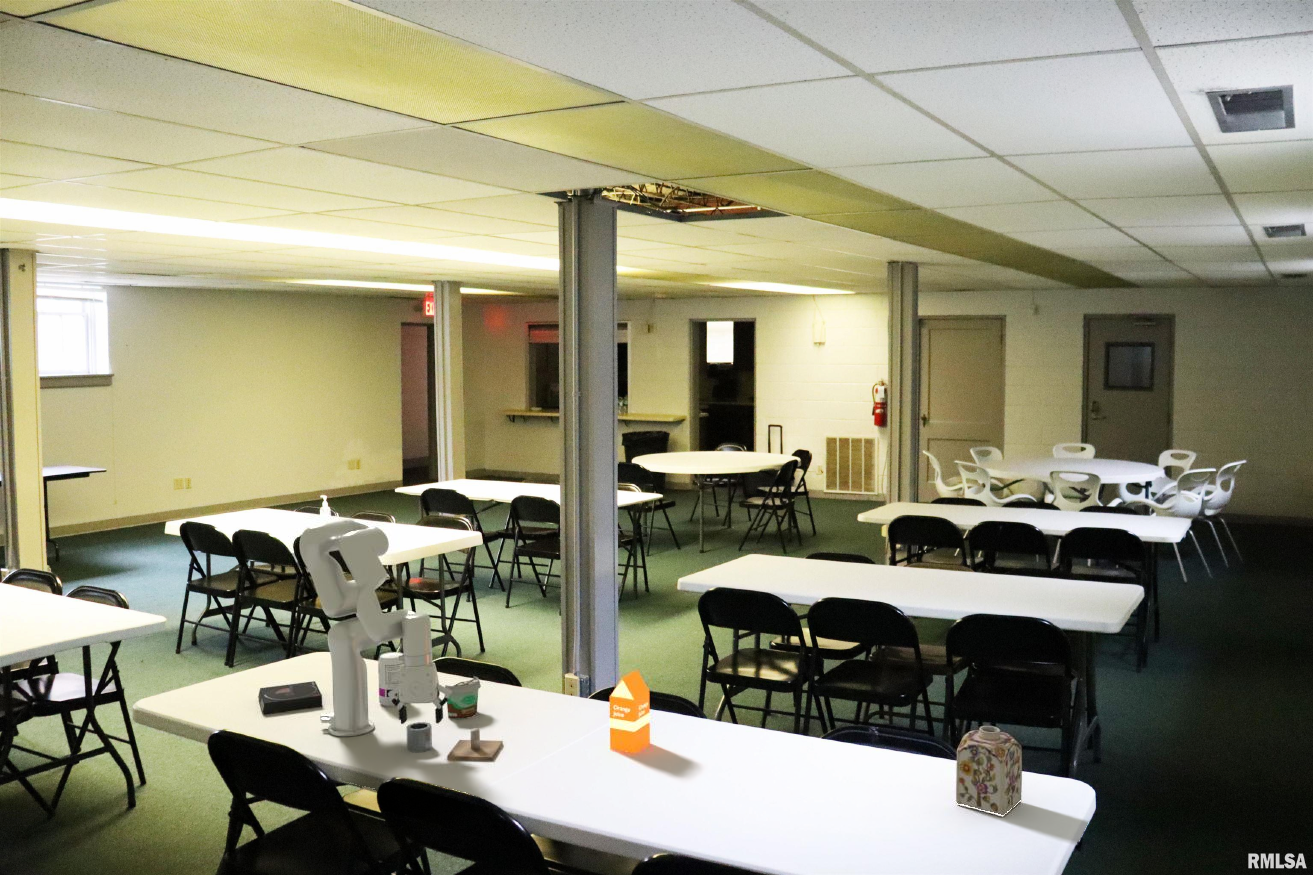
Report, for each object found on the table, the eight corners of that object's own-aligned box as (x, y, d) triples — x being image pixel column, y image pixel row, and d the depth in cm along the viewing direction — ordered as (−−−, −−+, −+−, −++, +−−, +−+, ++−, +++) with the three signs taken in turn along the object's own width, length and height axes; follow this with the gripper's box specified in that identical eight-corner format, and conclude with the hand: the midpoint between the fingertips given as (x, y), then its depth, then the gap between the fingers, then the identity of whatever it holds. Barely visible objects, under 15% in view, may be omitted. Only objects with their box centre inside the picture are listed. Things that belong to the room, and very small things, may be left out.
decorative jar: (974, 789, 257) (975, 716, 255) (1022, 802, 249) (1023, 727, 248) (954, 805, 248) (955, 730, 246) (1003, 819, 240) (1004, 741, 239)
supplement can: (374, 706, 324) (372, 657, 323) (388, 697, 332) (387, 650, 330) (397, 708, 321) (396, 659, 320) (411, 700, 329) (410, 652, 328)
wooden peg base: (447, 759, 279) (446, 737, 279) (459, 743, 291) (459, 721, 291) (492, 760, 278) (491, 738, 278) (502, 744, 290) (502, 722, 290)
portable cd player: (258, 700, 331) (257, 688, 331) (315, 693, 338) (314, 681, 338) (262, 716, 316) (262, 703, 316) (322, 708, 323) (321, 695, 323)
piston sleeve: (404, 751, 285) (403, 729, 285) (411, 743, 291) (411, 721, 291) (427, 752, 284) (426, 730, 284) (434, 743, 291) (434, 722, 290)
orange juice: (609, 749, 286) (608, 676, 284) (625, 738, 294) (624, 667, 292) (635, 753, 282) (634, 680, 281) (650, 743, 290) (650, 671, 289)
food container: (458, 723, 307) (458, 689, 307) (444, 719, 311) (443, 685, 310) (489, 712, 317) (489, 679, 317) (475, 708, 321) (475, 675, 320)
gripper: (382, 663, 283) (385, 727, 284) (445, 662, 282) (448, 726, 282) (391, 656, 291) (394, 718, 291) (453, 655, 289) (456, 717, 290)
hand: (421, 722), depth 287 cm, fingers open, 9 cm apart
